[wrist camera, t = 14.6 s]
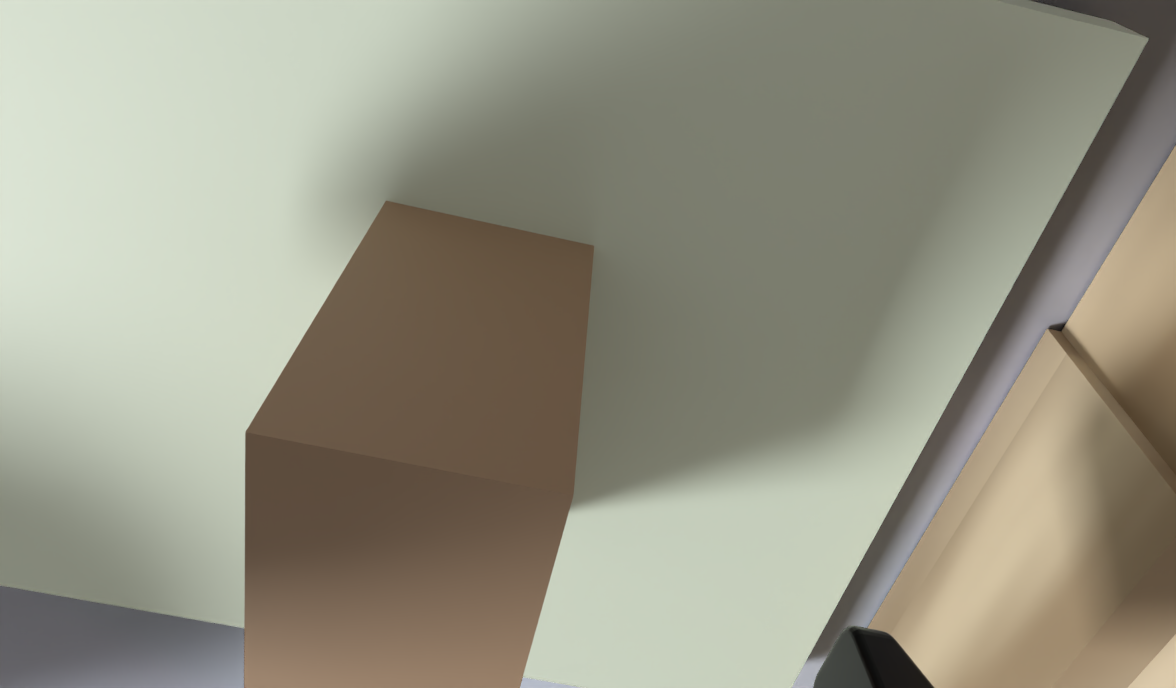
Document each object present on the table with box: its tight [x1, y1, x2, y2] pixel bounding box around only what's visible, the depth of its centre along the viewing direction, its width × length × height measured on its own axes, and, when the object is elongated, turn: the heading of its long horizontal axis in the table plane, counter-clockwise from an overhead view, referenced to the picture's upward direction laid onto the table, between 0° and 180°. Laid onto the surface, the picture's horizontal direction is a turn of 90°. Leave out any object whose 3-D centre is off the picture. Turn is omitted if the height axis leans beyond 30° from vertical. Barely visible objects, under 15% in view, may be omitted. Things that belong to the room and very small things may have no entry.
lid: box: [0, 0, 1149, 688], centre depth 10 cm, size 15×11×6 cm
